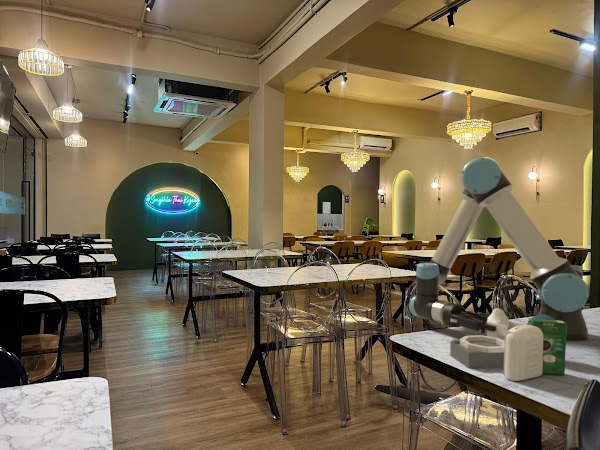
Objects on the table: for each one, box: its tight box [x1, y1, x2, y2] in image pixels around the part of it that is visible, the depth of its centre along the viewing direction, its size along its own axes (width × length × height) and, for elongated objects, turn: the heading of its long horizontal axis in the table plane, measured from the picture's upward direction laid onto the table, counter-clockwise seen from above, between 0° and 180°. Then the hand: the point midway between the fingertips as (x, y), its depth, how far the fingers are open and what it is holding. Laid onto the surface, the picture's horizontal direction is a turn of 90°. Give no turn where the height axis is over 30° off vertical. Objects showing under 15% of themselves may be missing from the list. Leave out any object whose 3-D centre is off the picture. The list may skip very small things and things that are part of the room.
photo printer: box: [503, 324, 543, 382], centre depth 101 cm, size 10×4×12 cm, turn 116°
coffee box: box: [528, 317, 567, 376], centre depth 104 cm, size 8×3×13 cm, turn 79°
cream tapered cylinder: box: [486, 307, 510, 340], centre depth 124 cm, size 6×12×6 cm
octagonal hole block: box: [449, 334, 504, 369], centre depth 113 cm, size 14×11×5 cm
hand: (514, 329), depth 119 cm, fingers closed on cream tapered cylinder, 6 cm apart
